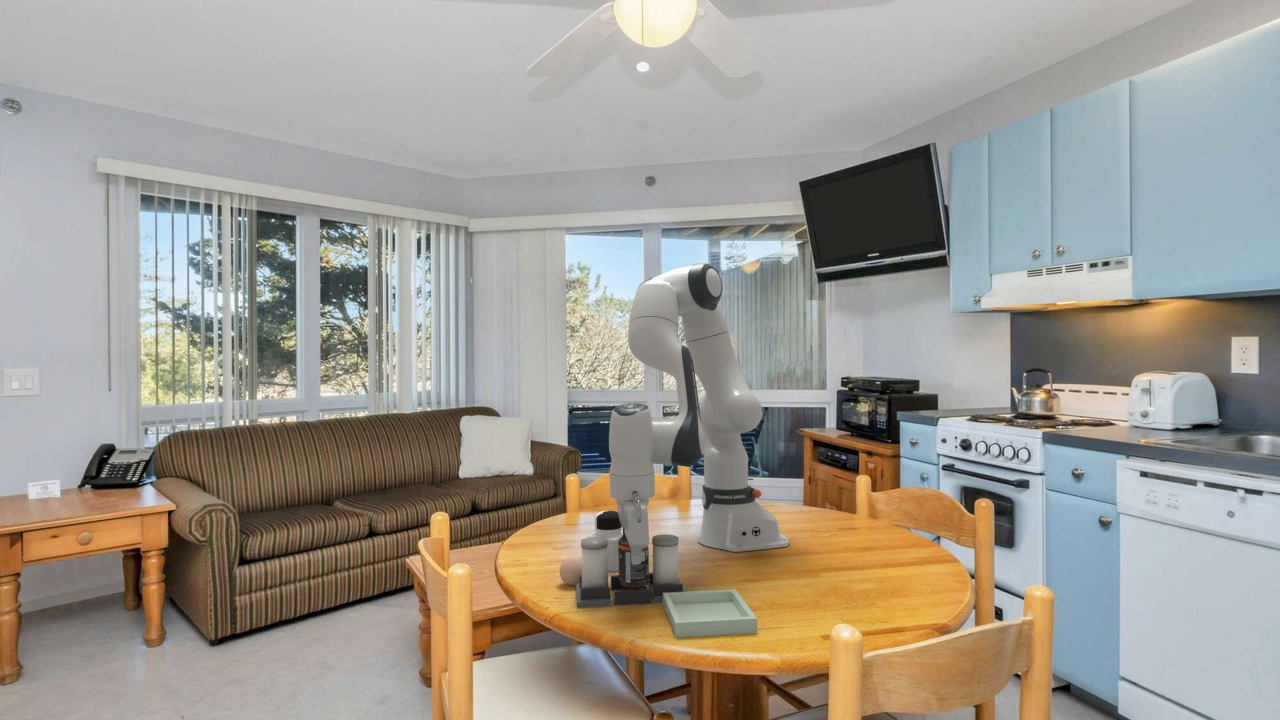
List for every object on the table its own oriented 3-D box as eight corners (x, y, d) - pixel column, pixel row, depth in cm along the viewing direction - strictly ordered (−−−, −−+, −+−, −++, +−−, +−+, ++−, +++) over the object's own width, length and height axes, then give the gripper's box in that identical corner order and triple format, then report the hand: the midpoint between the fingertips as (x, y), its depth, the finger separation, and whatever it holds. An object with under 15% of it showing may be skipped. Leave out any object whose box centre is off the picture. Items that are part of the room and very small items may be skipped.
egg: (556, 582, 133) (556, 554, 133) (580, 579, 135) (580, 551, 135) (563, 590, 129) (563, 561, 129) (587, 587, 131) (587, 558, 131)
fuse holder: (678, 584, 132) (678, 530, 132) (687, 602, 122) (687, 544, 122) (576, 588, 129) (575, 534, 129) (577, 607, 120) (576, 548, 120)
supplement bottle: (617, 580, 128) (617, 523, 128) (647, 578, 129) (646, 522, 129) (619, 590, 122) (618, 531, 123) (650, 588, 123) (649, 529, 123)
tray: (735, 601, 122) (735, 589, 122) (757, 632, 108) (757, 618, 108) (662, 605, 120) (662, 592, 120) (675, 637, 106) (675, 622, 106)
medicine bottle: (629, 563, 146) (629, 510, 146) (615, 572, 139) (615, 517, 140) (602, 559, 149) (601, 507, 149) (586, 568, 142) (586, 514, 143)
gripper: (656, 497, 116) (657, 574, 116) (641, 476, 136) (642, 541, 136) (621, 499, 115) (623, 576, 115) (611, 478, 135) (613, 543, 135)
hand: (633, 557), depth 126 cm, fingers closed on supplement bottle, 6 cm apart
